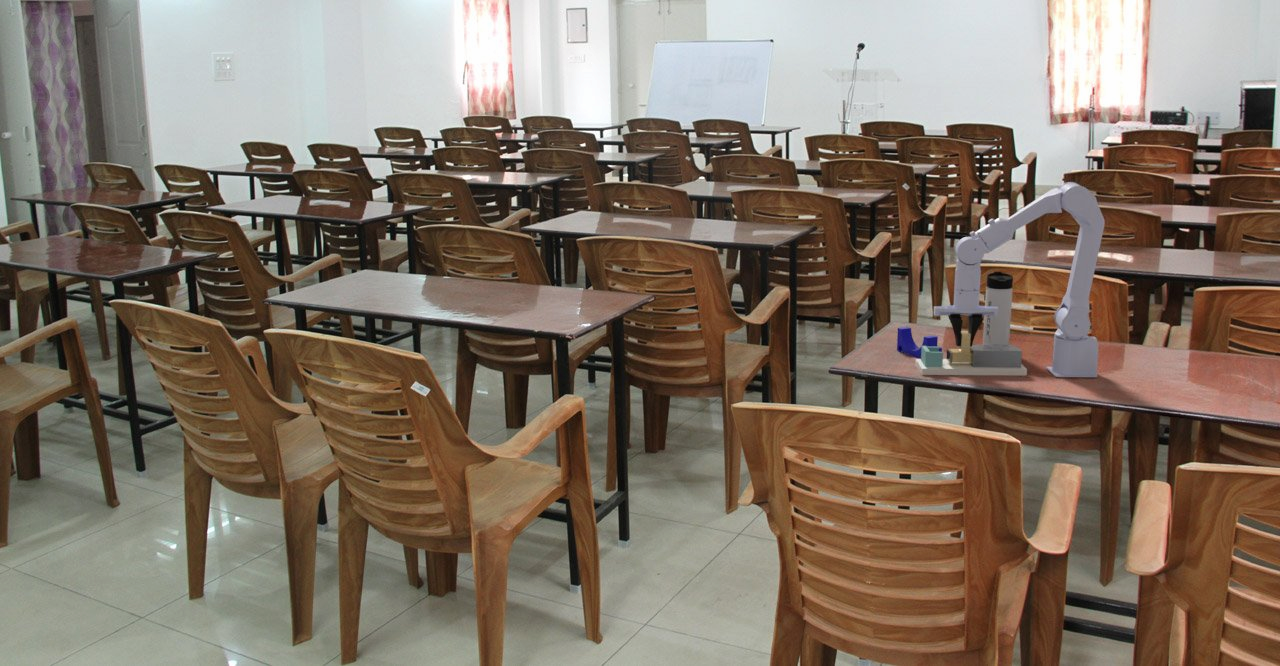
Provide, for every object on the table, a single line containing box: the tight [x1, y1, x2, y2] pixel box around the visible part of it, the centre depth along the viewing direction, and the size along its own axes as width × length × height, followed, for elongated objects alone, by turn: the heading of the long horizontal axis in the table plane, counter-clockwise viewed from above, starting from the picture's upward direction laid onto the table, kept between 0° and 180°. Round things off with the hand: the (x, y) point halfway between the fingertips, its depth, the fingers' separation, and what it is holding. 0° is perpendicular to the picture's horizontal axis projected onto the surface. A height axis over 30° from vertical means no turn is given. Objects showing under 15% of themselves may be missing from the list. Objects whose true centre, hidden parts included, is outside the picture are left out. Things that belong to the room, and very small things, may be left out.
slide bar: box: [946, 330, 973, 363], centre depth 263 cm, size 15×4×7 cm, turn 86°
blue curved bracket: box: [896, 326, 943, 359], centre depth 279 cm, size 12×4×6 cm, turn 24°
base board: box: [914, 358, 1028, 377], centre depth 264 cm, size 24×9×2 cm, turn 86°
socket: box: [921, 345, 944, 367], centre depth 264 cm, size 4×6×4 cm
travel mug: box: [982, 271, 1014, 345], centre depth 278 cm, size 6×7×20 cm
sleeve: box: [970, 344, 1023, 368], centre depth 263 cm, size 11×6×4 cm, turn 86°
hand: (963, 345), depth 263 cm, fingers closed on slide bar, 2 cm apart
